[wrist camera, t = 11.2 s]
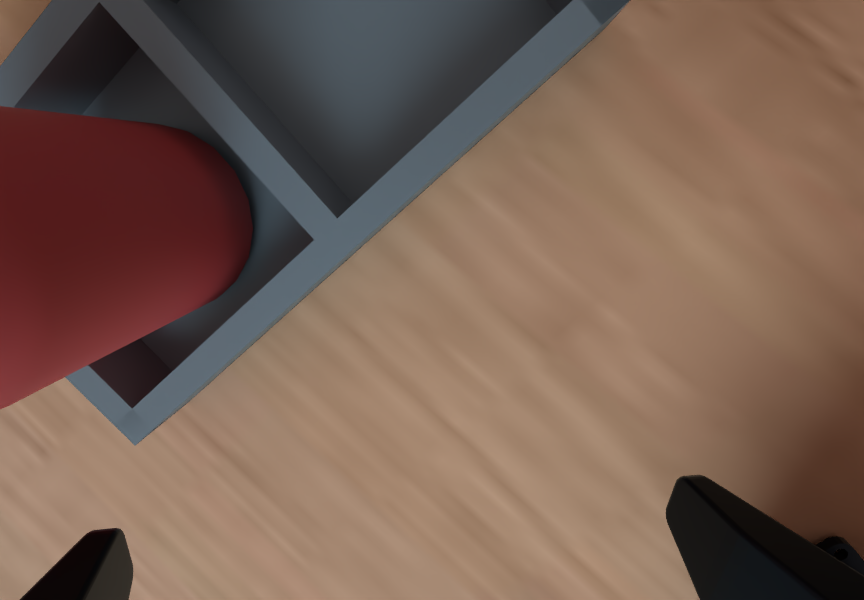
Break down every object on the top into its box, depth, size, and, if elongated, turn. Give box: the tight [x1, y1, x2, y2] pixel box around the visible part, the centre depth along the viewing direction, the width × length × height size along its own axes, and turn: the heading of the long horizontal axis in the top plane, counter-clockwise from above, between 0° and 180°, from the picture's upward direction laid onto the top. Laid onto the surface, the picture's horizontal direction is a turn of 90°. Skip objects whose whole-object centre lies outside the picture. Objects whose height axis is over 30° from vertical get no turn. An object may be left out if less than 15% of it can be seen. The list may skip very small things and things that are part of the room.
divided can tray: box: [0, 0, 630, 445], centre depth 18 cm, size 11×21×4 cm, turn 131°
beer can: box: [0, 106, 253, 409], centre depth 14 cm, size 7×7×12 cm
